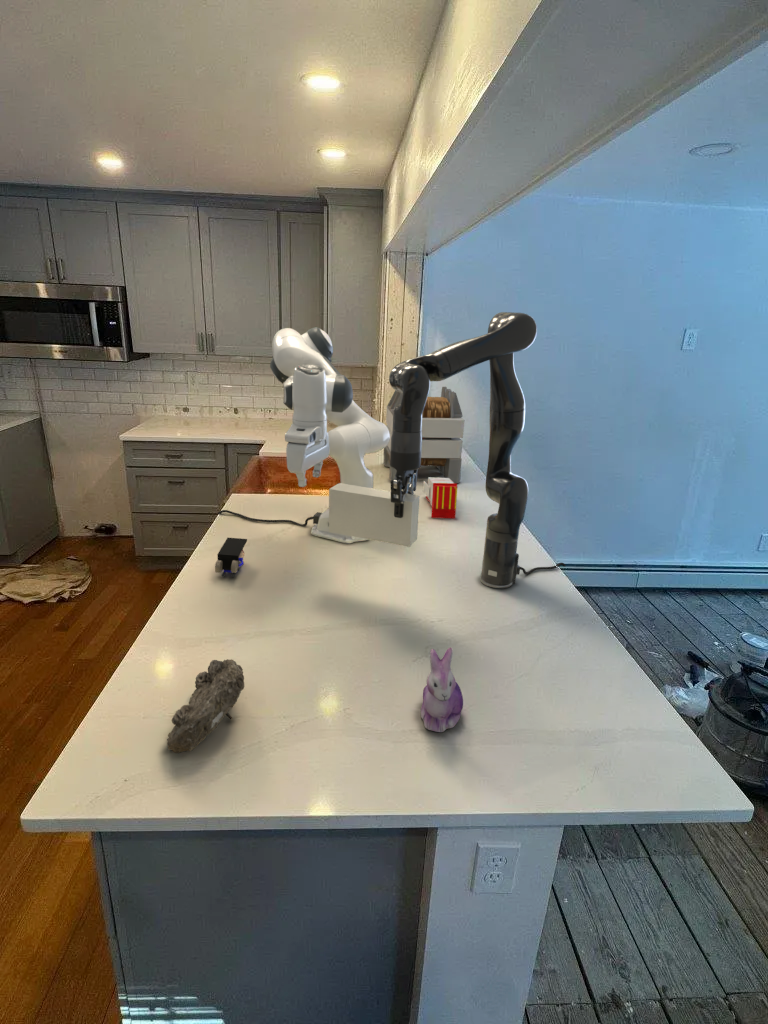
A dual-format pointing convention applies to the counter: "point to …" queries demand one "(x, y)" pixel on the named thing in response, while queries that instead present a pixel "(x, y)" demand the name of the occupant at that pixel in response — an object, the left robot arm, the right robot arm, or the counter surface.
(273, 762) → the counter surface
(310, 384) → the left robot arm
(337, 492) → the box
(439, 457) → the transformer
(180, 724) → the fossil
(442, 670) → the figurine
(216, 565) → the black toy rover
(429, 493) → the toy
